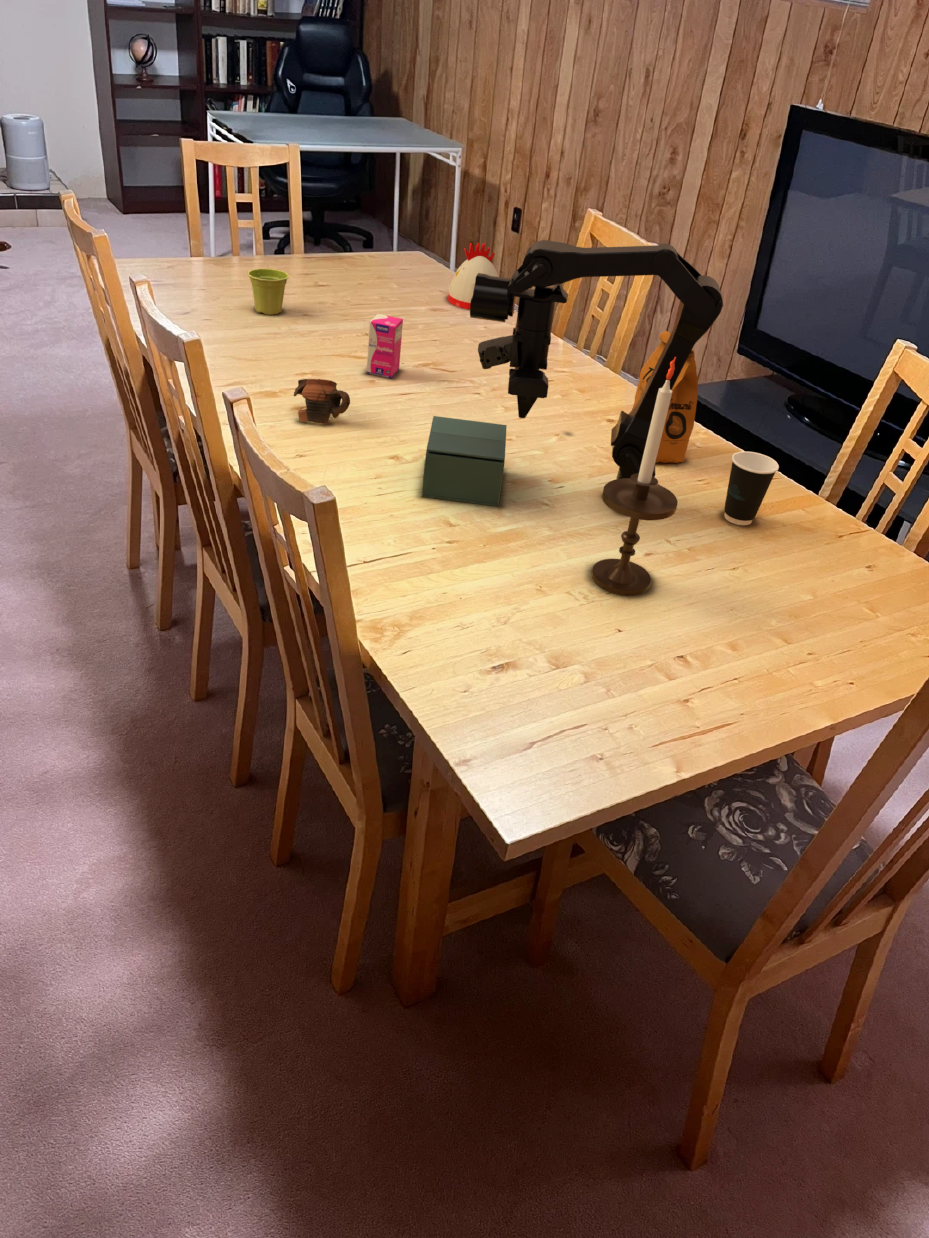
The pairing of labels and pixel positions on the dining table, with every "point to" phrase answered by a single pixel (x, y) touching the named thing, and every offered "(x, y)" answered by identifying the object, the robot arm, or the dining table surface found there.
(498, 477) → the carton
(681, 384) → the coffee package
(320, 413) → the pottery mug
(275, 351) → the dining table surface
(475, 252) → the kitchen timer
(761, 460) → the dixie cup
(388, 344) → the supplement box
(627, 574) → the candlestick
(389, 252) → the dining table surface
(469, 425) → the flap
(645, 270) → the robot arm
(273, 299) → the plant pot
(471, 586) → the dining table surface
